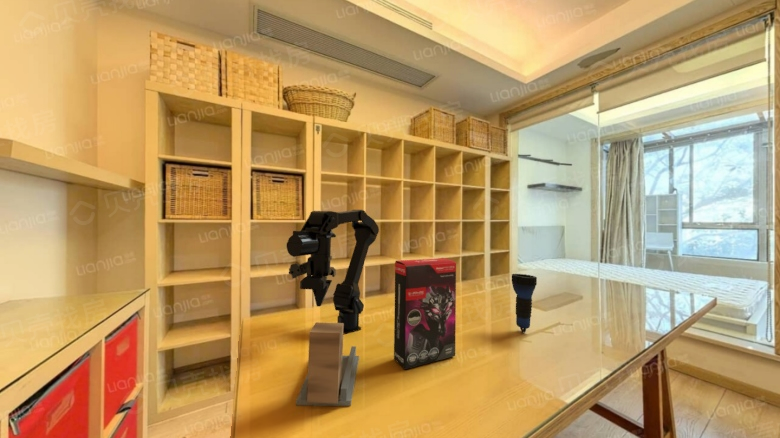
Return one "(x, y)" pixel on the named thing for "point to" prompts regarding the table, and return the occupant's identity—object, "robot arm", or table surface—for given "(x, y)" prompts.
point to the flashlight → (523, 298)
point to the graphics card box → (424, 311)
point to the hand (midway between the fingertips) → (318, 306)
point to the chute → (346, 388)
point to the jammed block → (325, 363)
